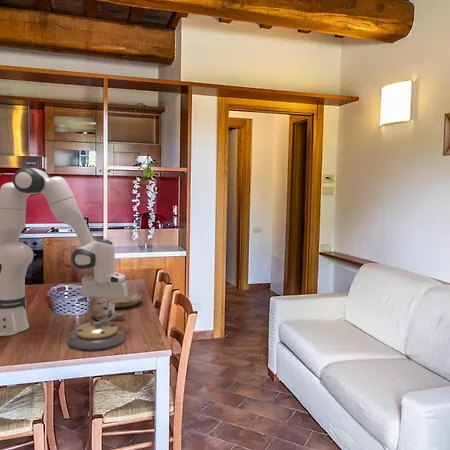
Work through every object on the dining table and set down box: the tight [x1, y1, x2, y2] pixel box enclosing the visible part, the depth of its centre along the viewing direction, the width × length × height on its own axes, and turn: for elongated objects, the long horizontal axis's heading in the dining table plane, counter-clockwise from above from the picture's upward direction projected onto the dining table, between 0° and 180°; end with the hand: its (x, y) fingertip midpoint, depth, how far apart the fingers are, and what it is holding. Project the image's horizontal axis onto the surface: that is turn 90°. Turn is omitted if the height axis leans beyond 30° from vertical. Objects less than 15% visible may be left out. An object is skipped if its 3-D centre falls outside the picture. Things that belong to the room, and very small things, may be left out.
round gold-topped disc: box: [75, 301, 118, 341], centre depth 182 cm, size 23×16×10 cm
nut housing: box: [68, 326, 125, 352], centre depth 179 cm, size 22×22×3 cm
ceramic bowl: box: [96, 290, 143, 308], centre depth 233 cm, size 23×24×5 cm
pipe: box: [90, 303, 126, 322], centre depth 208 cm, size 6×17×10 cm
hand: (104, 307), depth 191 cm, fingers closed
